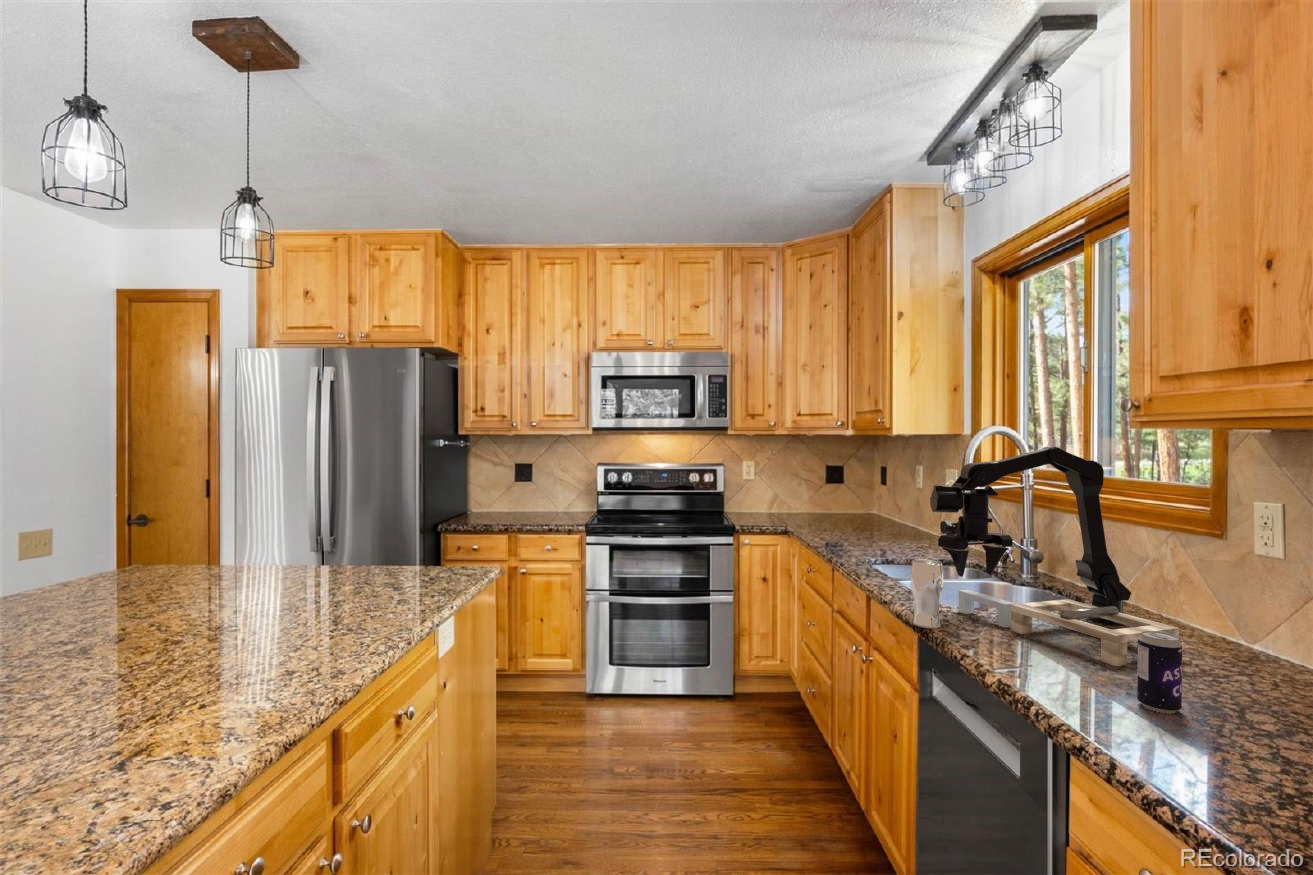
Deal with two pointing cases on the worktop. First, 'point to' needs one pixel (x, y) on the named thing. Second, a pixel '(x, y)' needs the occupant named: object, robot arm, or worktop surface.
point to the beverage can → (1159, 672)
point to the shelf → (1087, 626)
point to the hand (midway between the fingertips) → (975, 575)
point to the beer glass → (927, 592)
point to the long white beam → (970, 596)
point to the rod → (1089, 612)
